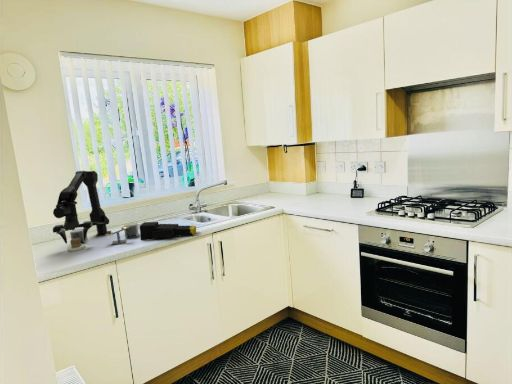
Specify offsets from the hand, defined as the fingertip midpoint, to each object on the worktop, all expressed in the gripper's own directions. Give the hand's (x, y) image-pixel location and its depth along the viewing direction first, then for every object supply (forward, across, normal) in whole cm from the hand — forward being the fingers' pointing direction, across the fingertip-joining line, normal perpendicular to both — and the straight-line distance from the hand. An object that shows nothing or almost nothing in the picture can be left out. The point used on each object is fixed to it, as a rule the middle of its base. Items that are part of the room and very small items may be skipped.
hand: (75, 242), depth 197 cm
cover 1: (+4, -1, +13) cm, 13 cm away
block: (+2, 0, 0) cm, 3 cm away
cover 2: (+4, +28, +10) cm, 30 cm away
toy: (+4, +49, -2) cm, 49 cm away
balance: (+4, +22, -1) cm, 22 cm away
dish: (+4, 0, 0) cm, 4 cm away
